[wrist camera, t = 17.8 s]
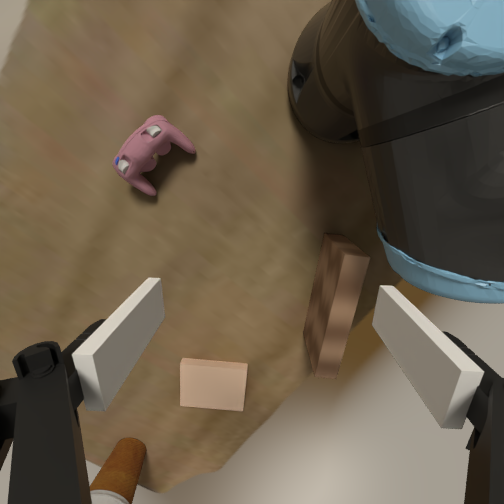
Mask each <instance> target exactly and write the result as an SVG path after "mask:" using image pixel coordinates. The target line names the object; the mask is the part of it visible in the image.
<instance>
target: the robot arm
mask: <svg viewBox="0 0 504 504" xmlns="http://www.w3.org/2000/svg"><path fill="white" fill-rule="evenodd" d="M288 92H289V98H290V102H291V105H292V108H293V111H294V113H295V115H296V117H297V118H298V120H299V121H300V123H301V124H302V125H303V126H304V128H305V129H306V130H308V131H309V132H310V133H311V134H313V135H314V136H316V137H317V138H319V139H322V140H324V141H327V142H331V143H352V142H356V141H360V143H361V150H362V154H363V159H364V163H365V168H366V172H367V176H368V181H369V186H370V191H371V196H372V200H373V205H374V210H375V215H376V220H377V233H378V236H379V237H380V239H381V241H382V242H383V245H384V249H385V253H386V256H387V259H388V262H389V264H390V266H391V267H392V269H393V270H394V271H395V272H396V273H398V274H399V275H400V276H401V277H402V278H403V279H404V280H405V281H407V282H408V283H410V284H412V285H413V286H415V287H417V288H419V289H421V290H424V291H426V292H429V293H432V294H435V295H438V296H442V297H446V298H450V299H455V300H461V301H467V302H475V303H504V0H332V1H331V2H330V3H328V4H327V5H325V6H324V7H323V8H322V9H320V10H319V11H318V12H317V13H316V14H315V15H314V16H313V18H312V19H311V20H310V21H309V22H308V24H307V25H306V27H305V28H304V30H303V31H302V33H301V35H300V37H299V39H298V41H297V43H296V46H295V48H294V51H293V55H292V58H291V61H290V66H289V72H288ZM164 318H165V312H164V303H163V294H162V285H161V278H148V279H147V280H146V281H145V282H144V283H143V284H142V285H141V286H140V287H139V288H138V289H137V290H136V291H135V292H134V293H133V294H132V295H131V296H130V297H129V298H128V299H127V300H126V301H125V302H124V303H123V304H122V305H121V306H120V307H119V308H118V309H117V310H116V311H115V312H114V313H113V314H112V315H111V316H110V317H109V318H108V319H101V320H99V321H97V322H95V323H93V324H92V325H90V326H89V327H88V328H87V329H86V330H85V331H84V332H83V334H80V335H79V336H78V337H77V338H76V340H74V341H73V342H72V343H71V344H70V345H69V346H68V347H67V348H66V349H64V350H63V351H62V352H61V350H60V346H59V345H58V343H56V342H53V341H45V342H41V343H37V344H34V345H32V346H29V347H27V348H25V349H24V350H22V351H20V352H19V353H18V354H17V355H16V356H15V357H14V359H13V361H12V362H13V365H14V368H15V370H16V373H17V376H18V377H16V378H10V379H5V380H0V470H1V468H2V466H3V463H4V460H5V458H6V456H7V453H8V451H9V448H10V446H11V444H12V442H13V451H12V461H11V472H10V483H9V494H8V504H92V500H91V493H90V487H89V481H88V474H87V468H86V461H85V454H84V448H83V441H82V435H81V428H80V422H79V416H78V411H77V407H78V406H79V405H80V403H81V402H82V401H83V399H84V403H85V407H86V410H90V411H106V409H107V408H108V406H109V405H110V403H111V401H112V400H113V398H114V397H115V395H116V394H117V392H118V390H119V389H120V387H121V386H122V384H123V383H124V381H125V379H126V378H127V376H128V375H129V373H130V372H131V370H132V368H133V367H134V365H135V364H136V362H137V361H138V359H139V357H140V356H141V354H142V353H143V351H144V350H145V348H146V346H147V345H148V343H149V342H150V340H151V339H152V337H153V335H154V334H155V332H156V331H157V329H158V328H159V326H160V324H161V323H162V321H163V320H164ZM372 326H373V327H374V329H375V330H376V332H377V333H378V335H379V336H380V338H381V339H382V341H383V342H384V344H385V345H386V347H387V348H388V350H389V351H390V353H391V354H392V355H393V357H394V359H395V360H396V361H397V363H398V365H399V366H400V368H401V369H402V370H403V372H404V373H405V375H406V376H407V378H408V379H409V381H410V382H411V384H412V385H413V387H414V388H415V390H416V391H417V393H418V394H419V396H420V397H421V398H422V400H423V402H424V403H425V405H426V406H427V408H428V409H429V410H430V412H431V414H432V415H433V416H434V418H435V419H436V421H437V422H438V424H439V425H440V427H441V428H450V429H462V427H463V425H464V422H465V419H466V417H467V418H468V419H469V420H470V422H471V423H472V424H473V425H474V430H473V432H472V434H471V437H470V439H469V441H468V444H467V446H466V449H468V450H470V454H469V463H468V472H467V481H466V492H465V500H464V504H504V378H501V377H500V376H499V375H498V374H497V373H496V372H495V371H494V370H493V369H491V368H490V367H489V366H488V365H487V364H486V363H485V362H484V361H483V360H481V359H480V358H479V357H478V356H477V355H475V353H474V352H473V351H471V350H470V349H468V348H467V346H466V345H465V344H464V343H462V342H461V341H460V340H459V339H458V338H456V337H454V336H453V335H451V334H449V333H448V332H442V331H440V330H439V329H438V328H437V327H436V326H435V325H434V324H433V323H432V322H431V321H430V320H429V319H428V318H427V317H426V316H424V315H423V314H422V313H421V312H420V311H419V310H418V309H417V308H416V307H415V306H414V305H413V304H412V303H411V302H410V301H409V300H408V299H406V298H405V297H404V296H403V295H402V294H401V293H400V292H399V291H398V290H397V289H396V288H395V287H394V286H386V285H380V286H379V291H378V297H377V302H376V307H375V312H374V317H373V322H372Z"/></svg>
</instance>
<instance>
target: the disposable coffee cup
mask: <svg viewBox="0 0 504 504" xmlns="http://www.w3.org/2000/svg"><path fill="white" fill-rule="evenodd" d="M145 453H146V447H145V445H144V444H143V443H142V442H141V441H139V440H137V439H134V438H124V439H122V440H120V441H119V442H118V443H117V445H116V447H115V448H114V450H113V451H112V453H111V454H110V456H109V457H108V459H107V460H106V462H105V464H104V465H103V467H102V468H101V470H100V471H99V473H98V474H97V476H96V477H95V479H94V481H93V482H92V484H91V485H90V493H91V500H92V504H132V501H133V497H134V494H135V490H136V486H137V483H138V479H139V475H140V472H141V468H142V464H143V461H144V457H145Z"/></svg>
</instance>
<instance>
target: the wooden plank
mask: <svg viewBox="0 0 504 504" xmlns="http://www.w3.org/2000/svg"><path fill="white" fill-rule="evenodd" d="M369 261H370V257H369V256H368V255H367V254H366V253H364V252H363V251H362V250H361V249H360V248H358V247H357V246H356V245H355V244H353V243H352V242H351V241H350V240H349V239H347V238H346V237H345V236H344V235H336V234H328V233H324V237H323V241H322V246H321V251H320V256H319V260H318V265H317V270H316V274H315V279H314V284H313V288H312V293H311V298H310V302H309V307H308V312H307V317H306V321H305V326H304V331H303V334H304V338H305V342H306V345H307V349H308V353H309V357H310V361H311V365H312V368H313V372H314V376H315V377H323V378H331V379H336V378H337V375H338V371H339V367H340V364H341V360H342V357H343V353H344V350H345V346H346V343H347V339H348V336H349V332H350V328H351V325H352V321H353V318H354V314H355V311H356V307H357V304H358V300H359V297H360V293H361V290H362V286H363V282H364V279H365V275H366V272H367V268H368V265H369Z"/></svg>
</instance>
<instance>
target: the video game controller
mask: <svg viewBox="0 0 504 504" xmlns="http://www.w3.org/2000/svg"><path fill="white" fill-rule="evenodd" d="M170 142H173V143H174V144H176V145H178V146H179V147H181V148H182V149H183V150H185V151H186V152H189V153H192V154H194V153H195V152H196V150H195V147H194V145H193V144H192V142H191V141H190V140H189V139H188V138H187V137H186V136H185V135H184V134H183V133H182V132H181V131H180V130H178V129H177V128H176V127H175V126H173V125H172V124H170V123H169V122H168V121H167V120H166V119H165V118H164V117H163V116H161V115H155V116H152V117H150V118H149V119H147V120H146V122H145V123H144V125H142V126H141V127H140V128H138V129H137V130H136V131H135V132H134V133H133V134H132V135H131V136H130V137H129V138H128V139H127V140H126V142H125V143H124V144H123V146H122V148H121V149H120V151H119V153H118V155H117V156H115V158H114V160H113V167H114V169H115V170H116V171H117V173H118V174H119V176H121V177H122V178H123V179H124V180H126V181H127V182H128V183H130V184H131V185H133V186H134V187H136V188H137V189H139V190H140V191H142V192H144V193H146V194H147V195H151V196H155V195H156V194H157V193H156V190H155V188H154V187H153V185H152V184H151V183H150V182H149V181H148V180H147V179H146V178H145V177H144V176H142V175H141V174H140V173H141V172H148V171H151V170H153V169H154V168H155V166H156V161H155V159H154V158H153V157H152V156H153V155H154V154H155V152H156V153H157V154H158V155H165V154H167V153H168V152H169V151H170V150H171V144H170Z"/></svg>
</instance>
